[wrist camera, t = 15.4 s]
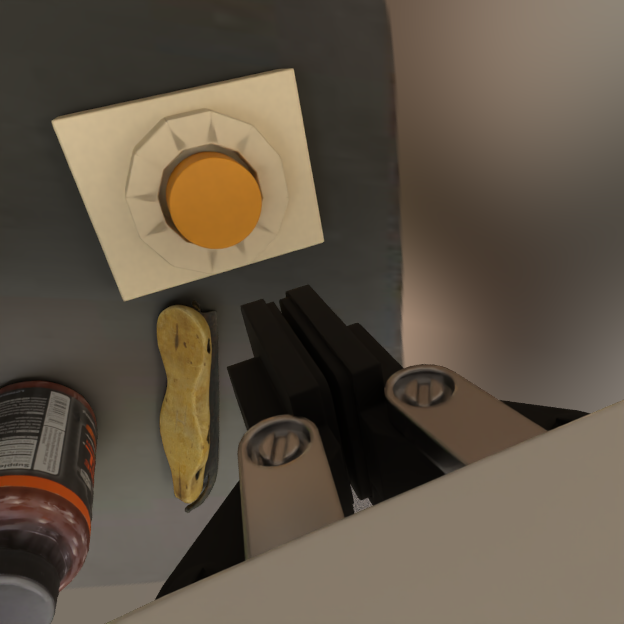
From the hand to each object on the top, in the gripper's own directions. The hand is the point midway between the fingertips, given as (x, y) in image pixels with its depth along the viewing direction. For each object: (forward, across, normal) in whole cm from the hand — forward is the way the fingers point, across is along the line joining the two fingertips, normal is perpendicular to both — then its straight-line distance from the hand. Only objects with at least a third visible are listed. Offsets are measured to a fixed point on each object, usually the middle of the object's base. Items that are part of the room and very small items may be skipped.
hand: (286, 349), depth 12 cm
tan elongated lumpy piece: (+15, +4, +10) cm, 19 cm away
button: (+11, 0, -2) cm, 11 cm away
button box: (+15, 0, -2) cm, 15 cm away
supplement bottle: (+15, +11, +8) cm, 21 cm away
